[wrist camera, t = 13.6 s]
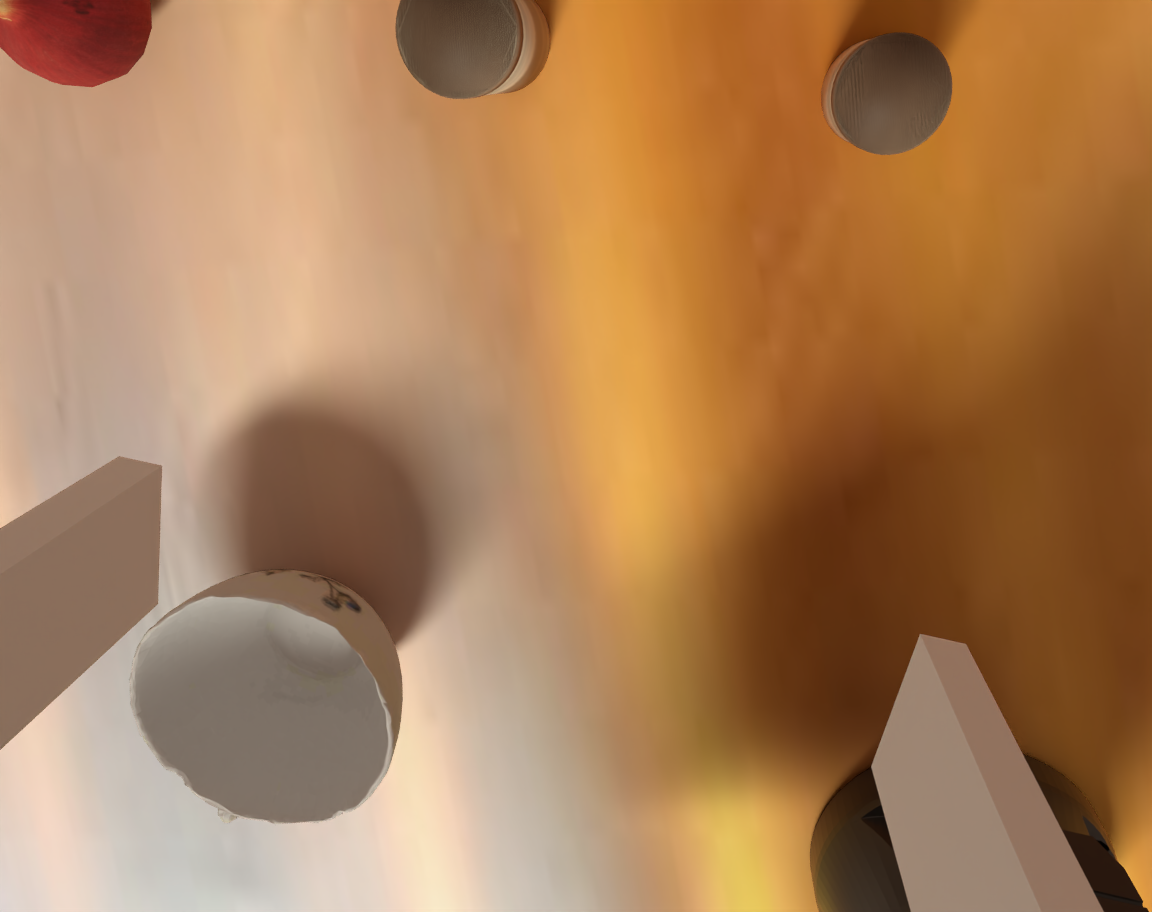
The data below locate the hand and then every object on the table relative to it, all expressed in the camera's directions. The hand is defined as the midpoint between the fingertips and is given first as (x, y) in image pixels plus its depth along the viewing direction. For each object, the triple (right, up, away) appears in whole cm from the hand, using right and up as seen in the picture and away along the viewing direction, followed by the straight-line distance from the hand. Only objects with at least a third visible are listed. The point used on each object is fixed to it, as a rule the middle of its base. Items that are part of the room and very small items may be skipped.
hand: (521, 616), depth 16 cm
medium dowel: (-2, +20, +22) cm, 30 cm away
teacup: (-13, -7, +35) cm, 38 cm away
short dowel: (+13, +17, +21) cm, 30 cm away
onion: (-18, +21, +24) cm, 37 cm away
